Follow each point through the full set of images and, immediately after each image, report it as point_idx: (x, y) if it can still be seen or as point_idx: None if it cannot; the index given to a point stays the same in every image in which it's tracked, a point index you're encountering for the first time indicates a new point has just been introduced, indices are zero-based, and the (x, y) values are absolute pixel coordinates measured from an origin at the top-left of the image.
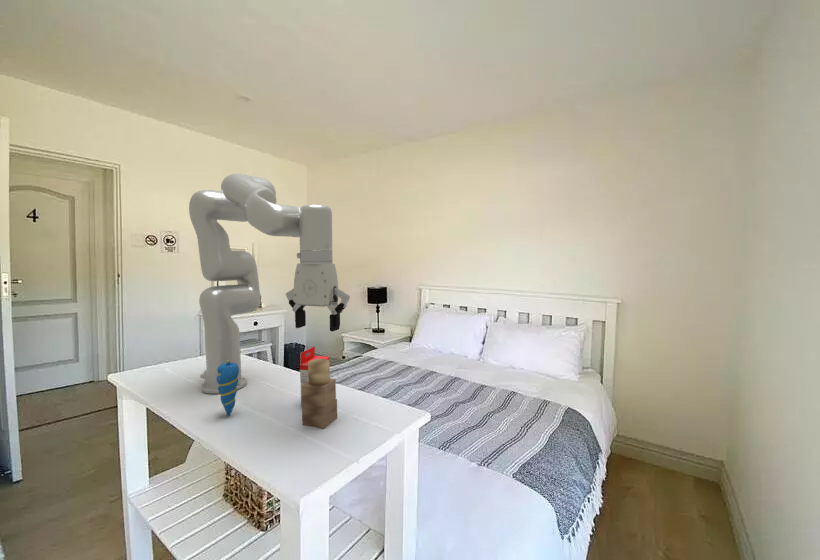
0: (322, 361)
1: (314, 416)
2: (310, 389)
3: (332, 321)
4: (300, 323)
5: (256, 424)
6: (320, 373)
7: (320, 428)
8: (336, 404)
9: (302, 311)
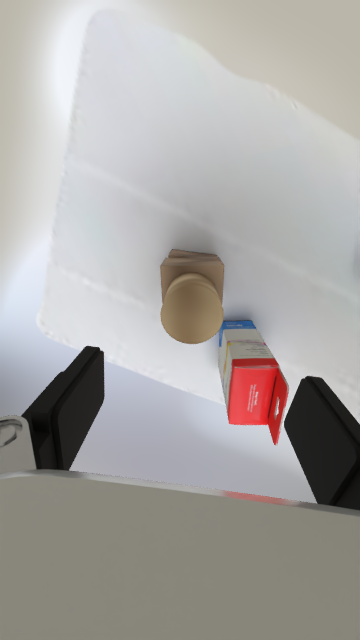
0: (182, 321)
1: (190, 254)
2: (199, 263)
3: (60, 381)
4: (305, 406)
5: (304, 238)
6: (175, 283)
7: (178, 250)
8: None
9: (336, 493)
